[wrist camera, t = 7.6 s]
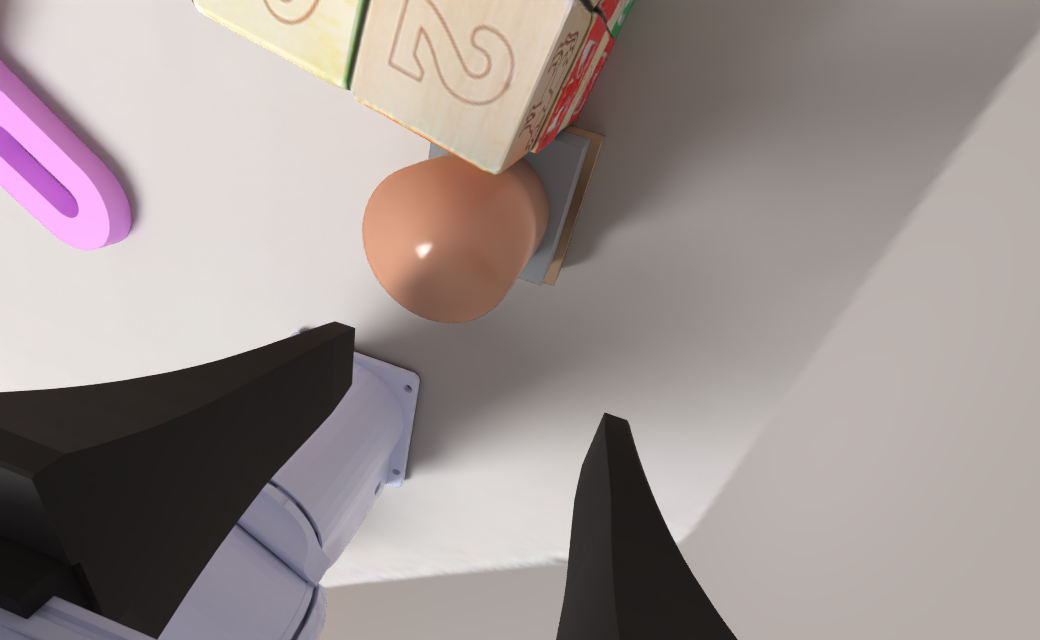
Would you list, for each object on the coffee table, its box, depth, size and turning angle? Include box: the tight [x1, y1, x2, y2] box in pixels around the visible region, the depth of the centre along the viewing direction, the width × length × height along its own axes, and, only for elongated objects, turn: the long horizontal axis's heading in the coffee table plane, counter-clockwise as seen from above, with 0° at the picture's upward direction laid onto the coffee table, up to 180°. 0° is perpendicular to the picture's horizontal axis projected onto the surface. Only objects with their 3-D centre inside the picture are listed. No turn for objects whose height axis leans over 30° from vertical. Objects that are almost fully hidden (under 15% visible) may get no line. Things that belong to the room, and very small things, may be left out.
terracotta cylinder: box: [362, 152, 549, 323], centre depth 14 cm, size 4×4×4 cm
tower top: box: [429, 130, 591, 285], centre depth 17 cm, size 5×5×2 cm
